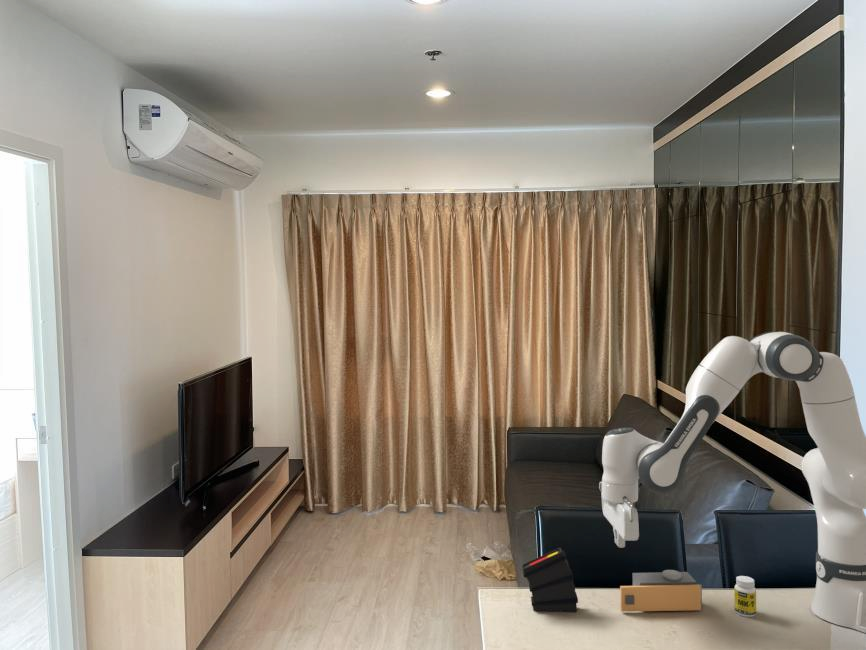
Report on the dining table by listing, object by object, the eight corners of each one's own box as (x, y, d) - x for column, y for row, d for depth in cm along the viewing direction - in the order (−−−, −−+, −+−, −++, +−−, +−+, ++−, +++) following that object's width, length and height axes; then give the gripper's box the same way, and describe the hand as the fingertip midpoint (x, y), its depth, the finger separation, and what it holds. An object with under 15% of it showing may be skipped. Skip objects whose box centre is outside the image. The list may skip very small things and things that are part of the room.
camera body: (687, 598, 166) (687, 568, 165) (696, 609, 160) (696, 577, 159) (632, 599, 166) (632, 569, 165) (640, 610, 160) (639, 578, 159)
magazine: (590, 606, 159) (562, 552, 159) (541, 628, 160) (514, 573, 160) (588, 599, 163) (561, 546, 163) (540, 620, 164) (514, 567, 164)
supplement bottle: (736, 616, 156) (735, 581, 156) (733, 607, 160) (732, 574, 160) (757, 618, 155) (757, 584, 154) (754, 609, 159) (754, 576, 159)
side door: (701, 608, 159) (700, 584, 159) (703, 611, 158) (703, 586, 158) (620, 610, 159) (620, 586, 159) (622, 612, 158) (621, 588, 158)
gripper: (645, 504, 154) (645, 561, 154) (620, 481, 174) (620, 531, 175) (619, 504, 154) (619, 561, 154) (597, 481, 174) (597, 531, 175)
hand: (619, 545), depth 165 cm, fingers closed
